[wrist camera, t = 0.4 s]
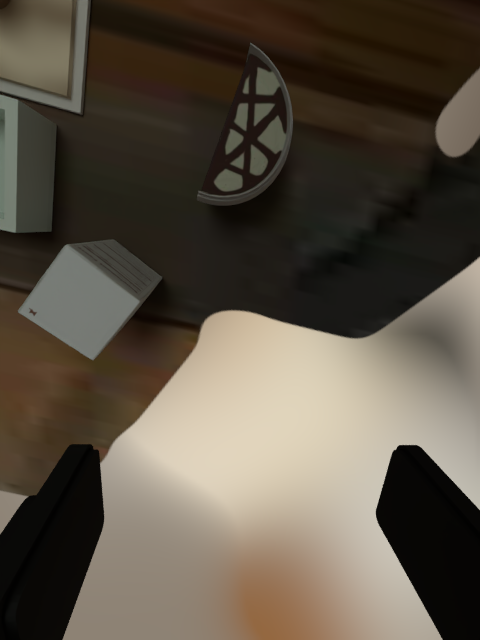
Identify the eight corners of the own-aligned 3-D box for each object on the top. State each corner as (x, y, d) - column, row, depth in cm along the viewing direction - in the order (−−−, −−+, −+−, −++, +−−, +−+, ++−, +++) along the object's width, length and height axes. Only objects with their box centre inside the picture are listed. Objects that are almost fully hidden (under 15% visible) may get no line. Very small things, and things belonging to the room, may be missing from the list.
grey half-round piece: (248, 227, 36) (261, 227, 26) (200, 205, 35) (195, 198, 25) (292, 119, 33) (324, 76, 23) (241, 92, 32) (253, 34, 22)
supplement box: (129, 320, 38) (91, 364, 26) (78, 283, 36) (11, 311, 24) (165, 277, 37) (142, 302, 25) (114, 236, 35) (63, 241, 23)
